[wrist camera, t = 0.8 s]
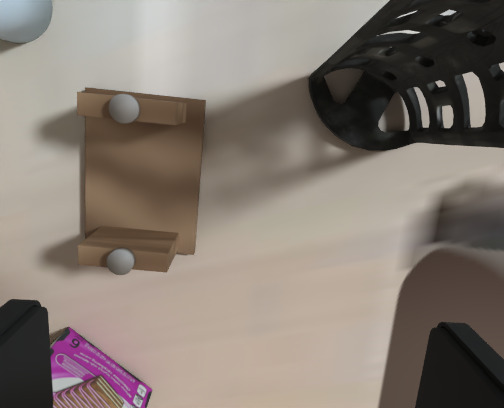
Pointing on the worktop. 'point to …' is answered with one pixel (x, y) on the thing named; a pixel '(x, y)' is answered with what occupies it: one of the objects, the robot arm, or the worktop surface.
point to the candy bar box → (91, 377)
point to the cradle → (140, 178)
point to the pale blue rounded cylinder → (24, 19)
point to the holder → (419, 74)
